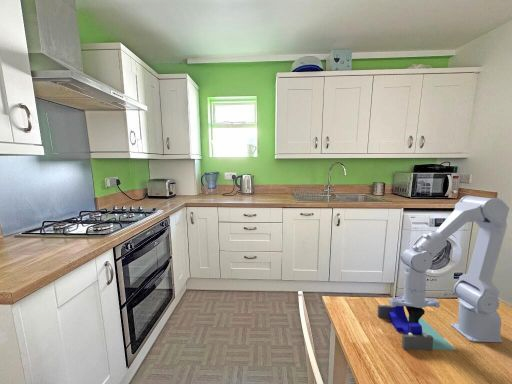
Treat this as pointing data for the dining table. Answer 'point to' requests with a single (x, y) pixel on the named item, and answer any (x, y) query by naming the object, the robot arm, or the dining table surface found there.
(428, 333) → the mat
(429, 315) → the dining table surface
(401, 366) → the dining table surface
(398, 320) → the blue bent block
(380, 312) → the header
